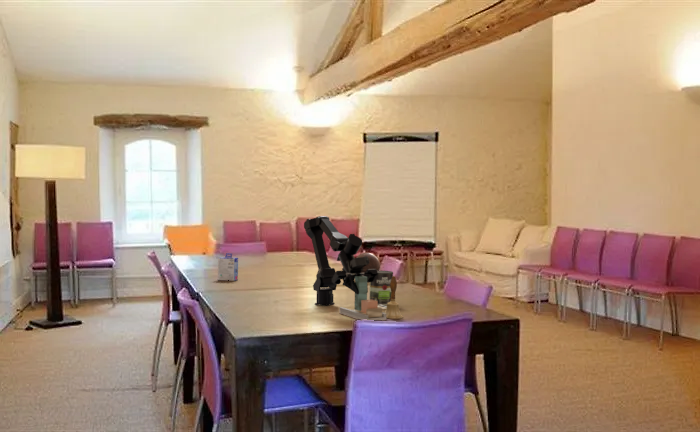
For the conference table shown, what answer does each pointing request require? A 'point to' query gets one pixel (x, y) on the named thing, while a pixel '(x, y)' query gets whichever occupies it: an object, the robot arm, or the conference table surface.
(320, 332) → the conference table surface
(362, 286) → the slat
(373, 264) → the wooden sphere
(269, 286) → the conference table surface
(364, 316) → the lane board
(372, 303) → the cube
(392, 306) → the wooden handled brush
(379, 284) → the coffee can
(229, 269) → the ink cartridge box
